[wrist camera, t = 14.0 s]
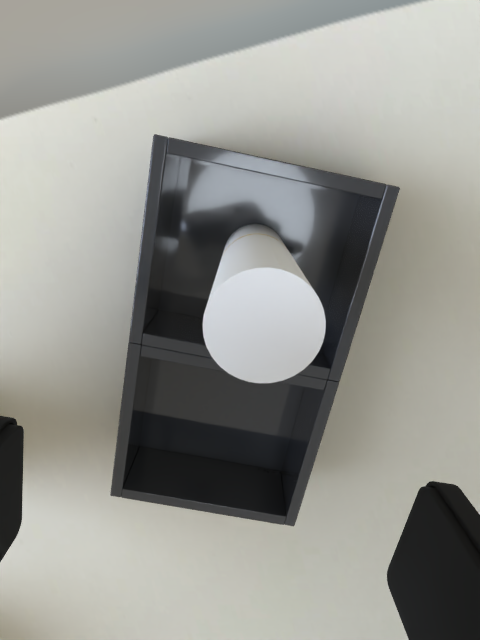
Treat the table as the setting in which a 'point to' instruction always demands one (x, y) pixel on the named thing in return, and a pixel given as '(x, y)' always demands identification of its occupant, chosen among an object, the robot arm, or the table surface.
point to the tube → (262, 310)
